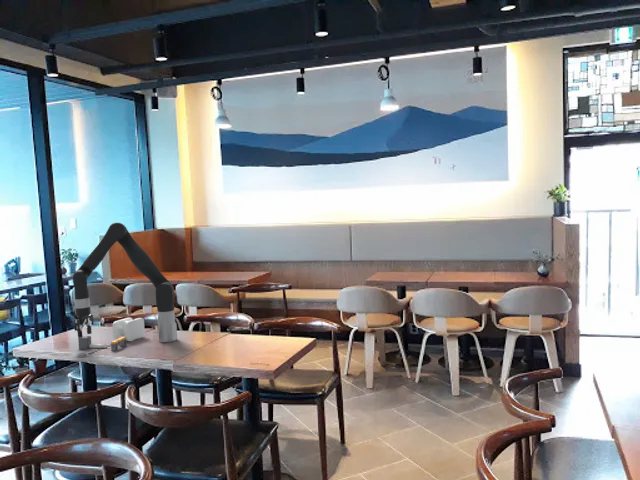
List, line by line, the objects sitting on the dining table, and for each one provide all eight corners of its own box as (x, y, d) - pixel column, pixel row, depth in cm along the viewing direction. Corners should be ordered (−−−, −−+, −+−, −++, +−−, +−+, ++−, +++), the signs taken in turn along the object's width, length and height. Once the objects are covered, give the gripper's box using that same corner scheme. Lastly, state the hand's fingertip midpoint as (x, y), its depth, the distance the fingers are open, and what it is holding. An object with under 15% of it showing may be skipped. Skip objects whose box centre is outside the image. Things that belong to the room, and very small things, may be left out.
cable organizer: (127, 343, 295) (125, 322, 295) (112, 341, 299) (111, 321, 298) (145, 336, 309) (144, 317, 308) (131, 335, 313) (129, 316, 312)
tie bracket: (126, 345, 290) (126, 336, 290) (115, 350, 279) (115, 342, 279) (122, 345, 290) (122, 336, 290) (111, 350, 279) (110, 342, 279)
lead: (108, 346, 288) (107, 336, 287) (104, 348, 284) (103, 337, 283) (83, 346, 290) (82, 336, 290) (78, 348, 286) (78, 337, 286)
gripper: (81, 308, 279) (83, 338, 280) (96, 303, 293) (98, 332, 294) (68, 309, 280) (70, 339, 281) (84, 304, 294) (86, 332, 295)
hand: (85, 335), depth 287 cm, fingers open, 8 cm apart
